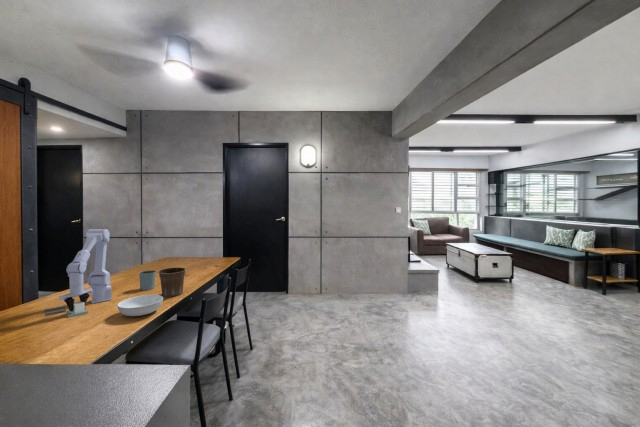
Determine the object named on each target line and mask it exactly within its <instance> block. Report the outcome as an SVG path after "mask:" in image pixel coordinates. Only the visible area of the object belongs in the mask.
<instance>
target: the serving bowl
mask: <svg viewBox="0 0 640 427" xmlns="http://www.w3.org/2000/svg"><path fill="white" fill-rule="evenodd" d="M163 301H164V296H162V295H159V294H143V295H138V296H137V295H136V296H133V297H129V298H125V299H123V300H122V301H121V300H120V302H118V303H117V310H118V311H119V313H120V314H122V315H123V316H126V317H142V316H146V315H149V314H151V313H154V312H155V311H157V310H158V309H159V308H160V307H161V306H162V304H163V303H164V302H163Z"/></svg>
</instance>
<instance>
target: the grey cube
mask: <svg viewBox="0 0 640 427" xmlns="http://www.w3.org/2000/svg"><path fill="white" fill-rule="evenodd" d="M85 307H86V303H85V302H81V301H80V300H78V301H74V310H73V311H72V312H71V311H69V313H68V314H74V313H79V312H84V311H86V310H85Z"/></svg>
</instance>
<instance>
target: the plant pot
mask: <svg viewBox="0 0 640 427" xmlns="http://www.w3.org/2000/svg"><path fill="white" fill-rule="evenodd" d="M186 270H187V268H185V267H169V268H168V267H167V268H162V269H159V270H158V272H157V273H158V277H159V280H160V285H161V286H160V287H161V296H162V297H163V298H164V297H165V298H172V297H178V296H180V295H183V292H184V281H185V275H186Z"/></svg>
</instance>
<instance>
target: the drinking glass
mask: <svg viewBox="0 0 640 427" xmlns="http://www.w3.org/2000/svg"><path fill="white" fill-rule="evenodd" d="M138 276H139V290H140V291H151V290H154V289H155V286H156V284H155V283H156V276H157V271H156V270H155V269H154V270H151V269H150V270H149V269H148V270H142V271H139V272H138Z"/></svg>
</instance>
